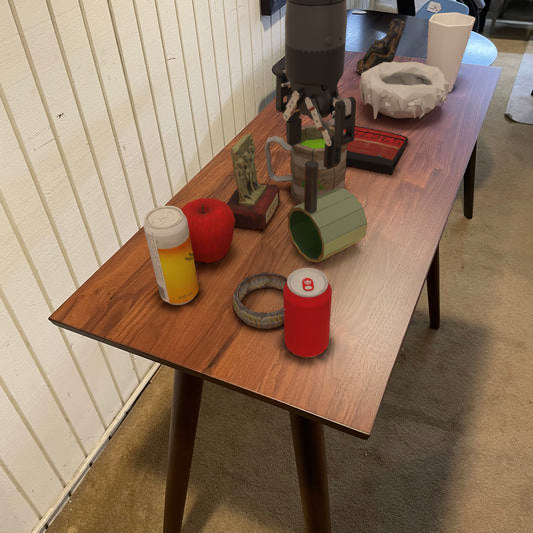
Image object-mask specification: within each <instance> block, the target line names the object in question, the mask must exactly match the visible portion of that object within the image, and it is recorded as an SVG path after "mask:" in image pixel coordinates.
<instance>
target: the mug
mask: <svg viewBox="0 0 533 533" xmlns="http://www.w3.org/2000/svg"><path fill="white" fill-rule="evenodd" d="M329 130H330V133H331V135H334V130H333V127H331V126H330V127H329ZM343 133H344V134H345V132H344V130H343ZM271 143H276V144H279V147H281V148H282V149H283V150H285V151H286V152H290V161H289V165H290V174H285V175H280V176H279V175H277V174H275V173H274V170H273V164H272V162H273V161H272V152H271V149H270V145H271ZM325 144H326V143H325V140H324V137H323V135H322V132H321V131H319V130H318V129H317V128H316V125H315V124H307V125H302V140H301V142H300V143H298V144H296V145H293V146H290V145H289V144H287V141H285V139H283V138H282V137H280V136H277V135H274V136H270V137H268V138H267V139H266V143H265V145H264V154H265V160H266V162H265V163H266V171H267V175H268V176H269V178H270V180H271V181H274V182H276V183H284V182H290V194H291V197H292V200H293V202H294V203H296V204H297V205H299V204H301V203H304V184H305V163H306V162H307V161H316V162H318V193H317V196H319V195H322V194H324V193H326V192H328V191H331V190H333V189H338V188H344V189H345V181H346V173H347V166H346V152H347V146H348V144H345V145H343V146H342V147H341V157H340V158H341V161H340V163H339V164H338V165H337V166H336V167H334V168H331V169H327V168H325V167H324V147H325Z"/></svg>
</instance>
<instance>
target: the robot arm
mask: <svg viewBox="0 0 533 533" xmlns="http://www.w3.org/2000/svg"><path fill="white" fill-rule="evenodd" d="M285 4H286V5H285V12H284V13H285V14H284V69H283V70H280V71H277V72H276V74H275V110H276V113H278V114H279V113H282V118H283V120H284V121H285V136H286V143H287V144H288V145H290V146H293V145H296V144H298V143H300V142H301V140H302V126H303V119H302V118H301V116H302V115H303V116H307V117H308V119H310V120H311V121H313V122H314V125H316V128H317V129H318V130H319V131H321V132H322V135H323V137H324V140H325V143H326V144H325V147H324V167H325V168H327V169H331V168H334V167H336V166H337V165H338V164H339V163H340V161H341V158H340V157H341V147H342V146H343V145H345V144H348V143H350V142H353V141H354V136H355V126H356V109H357V108H356V107H357V101H356V98H355V97H354V96H349V97H343V96H340V93H339V88H338V84H339V83H340V80H341V79H342V77H343V75H344V73H345V59H346V58H345V57H346V44H347V43H346V42H347V28H348V9H347V0H286V2H285ZM285 97H286V101H284V98H285ZM328 116H331V119H329V120H326V121H325V120H324V119H325V118H327V117H328ZM330 126H331V127H333V130H334V135H331V133H330V130H329V127H330ZM345 128H346V134H344V133H343V130H344V129H345Z"/></svg>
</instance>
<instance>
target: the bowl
mask: <svg viewBox="0 0 533 533" xmlns="http://www.w3.org/2000/svg"><path fill="white" fill-rule="evenodd" d="M360 74H361V73H360ZM358 85H359V93H360V94H359V97H360V101H361V102H362V104H363V105H364V106H366V105H367V104H369V105H370V106H371V107H372V108H373V109H372V110H373V119H374V120H376V119H377V118H378V117H377V116H378V113H380V114H382V115H384V116H387V117H391V118H394V119H412V118H414V120H415V119H416V118H418V119H421V118H422V117H423V116H424V115H425V114H429V113H430V112H431V111H433V110H434V109H435V108H436V107H437V106H438V107H439V105H440V104H441V109H443V107H444V104H445V102H447V101H448V95H449V94H448V93H449V92H448V89H449V83H448V82H447V81H446V80H445V77H444V74H443V73H442V72H441V71H440V69H439V67H432V66H428V65H426V63H425V64H424V63H421V62H419V61H403V62H397V61H393V62H390V63H389V62H383V63H381V64H379V65H377V66H374V67H373V68H371V69H369V70H368V71H366V72H363V73H362V74H361V75H360V79H359V84H358Z"/></svg>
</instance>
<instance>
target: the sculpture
mask: <svg viewBox="0 0 533 533" xmlns="http://www.w3.org/2000/svg"><path fill="white" fill-rule="evenodd" d="M256 151H257V148H256V142H255V141H254V137H253V136H252V133H247V134H245V135H243V136H242V137H241V138H240V139H239V140H238V141H237V142H236V143H235V144H234V145H233V146H232V147H231V148H230V157H231V164H232V169H233V176H234V180H235V185H236V189H235V190H234V191H233V193H232V194H231V196H230V198H229V199H228V201H227V202H226V204H228V205H229V206H230V208H231V210H232V212H233V215H234V218H235V226H234V227H239V228H247V229H254V230H256V229H258V230H265V228H266V226H267V224H268V223H269V222H270V220H271V218H272V216H273V214H274V213H275V211H276V209H277V208H278V207H279V204H280V203H281V199H280V198H281V197H280V195H281V194H280V190H281V188H280V187H279V186H278V185H277V184H268V183H262V182H261V183H260V182H259V180H258V175H257V171H258V170H257V168H256V161H255V158H256V153H255V152H256Z"/></svg>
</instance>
